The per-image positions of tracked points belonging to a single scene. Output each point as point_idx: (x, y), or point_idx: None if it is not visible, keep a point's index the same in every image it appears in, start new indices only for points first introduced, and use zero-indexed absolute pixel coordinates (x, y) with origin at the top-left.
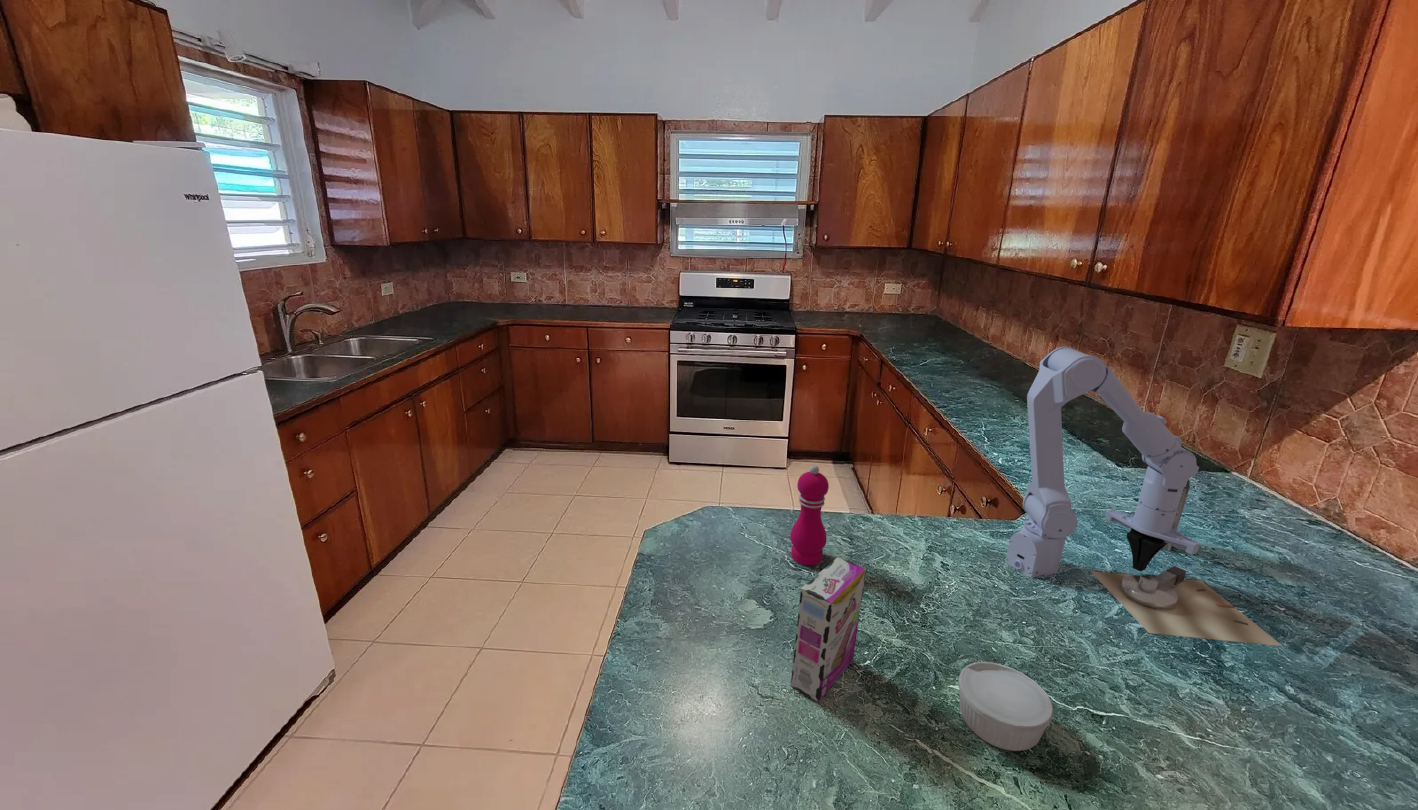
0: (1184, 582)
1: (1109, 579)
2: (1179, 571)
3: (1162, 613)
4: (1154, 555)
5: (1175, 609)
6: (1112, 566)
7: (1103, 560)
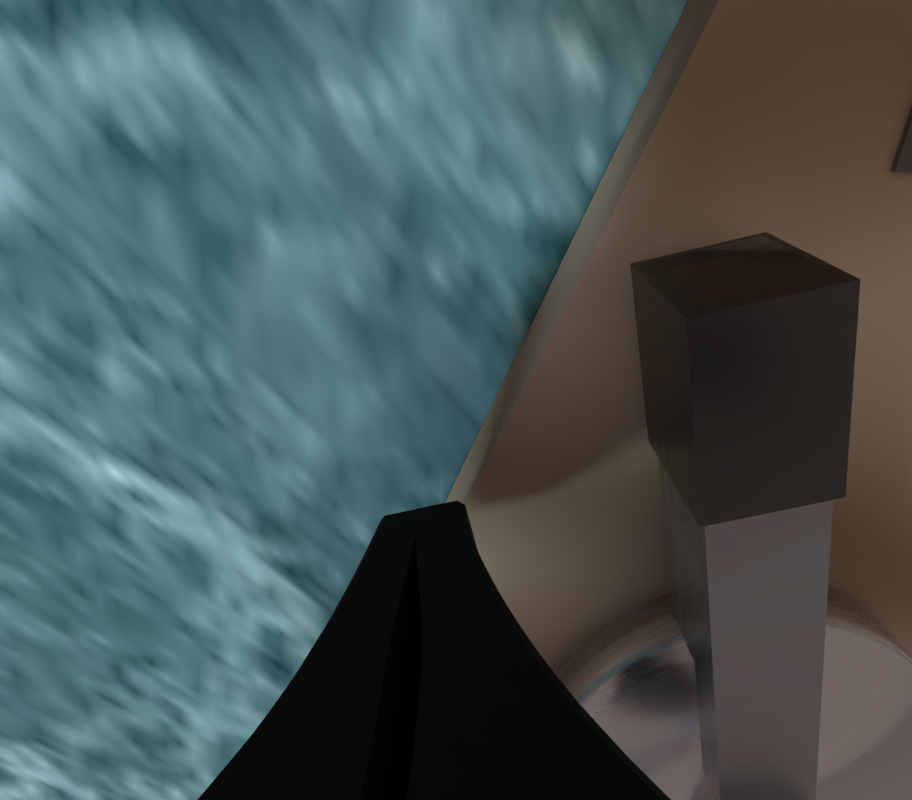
0: (731, 137)
1: None
2: (807, 399)
3: None
4: (521, 632)
5: None
6: (196, 487)
7: (79, 479)
